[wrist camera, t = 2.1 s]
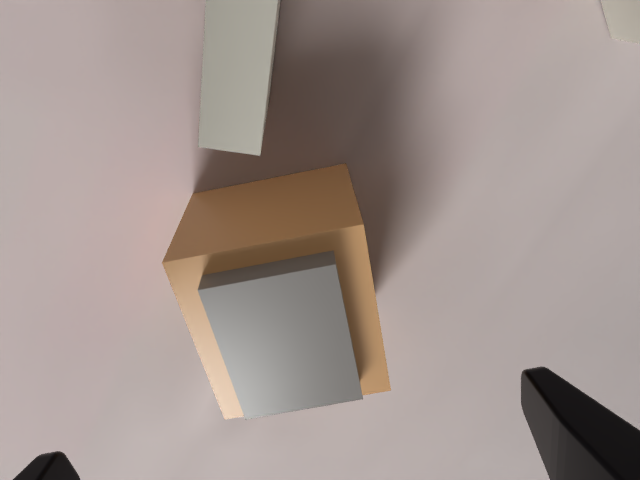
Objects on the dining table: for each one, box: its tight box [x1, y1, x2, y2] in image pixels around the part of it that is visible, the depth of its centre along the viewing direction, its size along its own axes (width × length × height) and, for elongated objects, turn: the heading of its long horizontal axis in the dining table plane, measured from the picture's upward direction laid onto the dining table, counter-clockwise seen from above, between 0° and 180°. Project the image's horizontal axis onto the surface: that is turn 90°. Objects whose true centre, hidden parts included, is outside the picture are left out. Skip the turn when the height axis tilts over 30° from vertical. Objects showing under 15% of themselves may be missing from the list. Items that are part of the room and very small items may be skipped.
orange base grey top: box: [162, 163, 391, 420], centre depth 14 cm, size 4×5×5 cm
